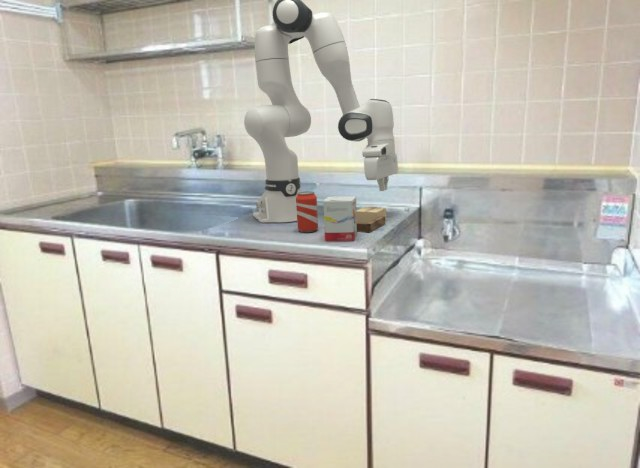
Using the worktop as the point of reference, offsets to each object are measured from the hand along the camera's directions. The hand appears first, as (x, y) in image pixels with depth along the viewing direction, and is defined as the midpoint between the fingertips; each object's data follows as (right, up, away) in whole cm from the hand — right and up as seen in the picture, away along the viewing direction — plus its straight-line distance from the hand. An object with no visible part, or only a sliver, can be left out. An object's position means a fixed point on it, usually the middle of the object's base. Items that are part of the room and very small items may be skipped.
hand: (383, 190), depth 168 cm
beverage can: (-25, -14, -13) cm, 31 cm away
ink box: (-15, -16, -24) cm, 32 cm away
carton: (-5, -11, -5) cm, 13 cm away
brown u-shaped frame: (-8, -12, -11) cm, 19 cm away
